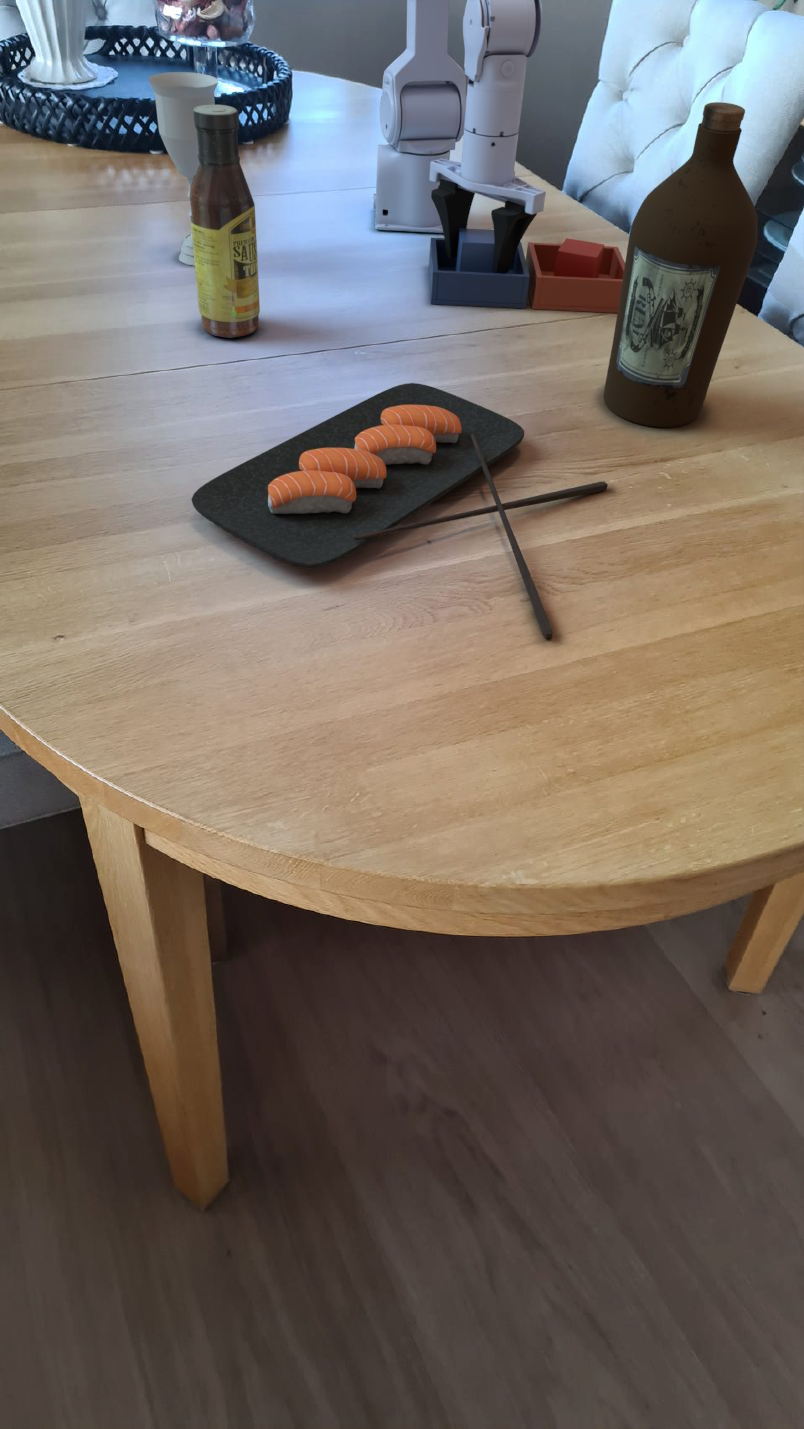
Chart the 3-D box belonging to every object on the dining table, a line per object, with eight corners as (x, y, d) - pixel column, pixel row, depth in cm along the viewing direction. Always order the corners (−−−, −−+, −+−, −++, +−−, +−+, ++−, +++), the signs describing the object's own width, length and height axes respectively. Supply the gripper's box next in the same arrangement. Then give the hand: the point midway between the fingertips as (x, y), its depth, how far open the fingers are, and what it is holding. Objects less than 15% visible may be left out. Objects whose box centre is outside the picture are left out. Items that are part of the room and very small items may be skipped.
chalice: (237, 250, 116) (224, 75, 104) (224, 271, 111) (209, 90, 99) (177, 245, 117) (157, 70, 104) (162, 265, 112) (139, 85, 99)
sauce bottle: (250, 344, 98) (235, 122, 84) (191, 336, 99) (167, 115, 85) (269, 319, 103) (258, 104, 89) (213, 311, 103) (194, 97, 89)
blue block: (455, 269, 112) (459, 228, 109) (493, 270, 112) (498, 229, 109) (458, 284, 109) (461, 242, 106) (497, 285, 109) (502, 244, 106)
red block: (551, 291, 111) (557, 250, 107) (559, 278, 114) (566, 237, 111) (589, 298, 110) (597, 257, 107) (597, 284, 113) (604, 244, 110)
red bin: (532, 309, 108) (537, 277, 106) (523, 273, 116) (528, 242, 113) (626, 313, 108) (633, 282, 106) (612, 277, 116) (618, 246, 114)
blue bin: (430, 304, 108) (432, 272, 105) (428, 268, 115) (430, 237, 113) (525, 308, 108) (529, 276, 106) (517, 272, 116) (521, 242, 113)
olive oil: (618, 369, 98) (681, 83, 80) (720, 398, 95) (808, 105, 77) (579, 411, 91) (638, 108, 74) (687, 443, 88) (775, 134, 70)
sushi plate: (409, 395, 92) (411, 356, 89) (691, 516, 79) (703, 475, 77) (177, 518, 75) (171, 475, 73) (486, 696, 63) (492, 652, 60)
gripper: (570, 139, 99) (549, 274, 109) (462, 108, 106) (452, 239, 115) (528, 151, 95) (511, 290, 105) (420, 118, 102) (413, 252, 111)
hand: (477, 264), depth 110 cm, fingers closed on blue block, 6 cm apart
